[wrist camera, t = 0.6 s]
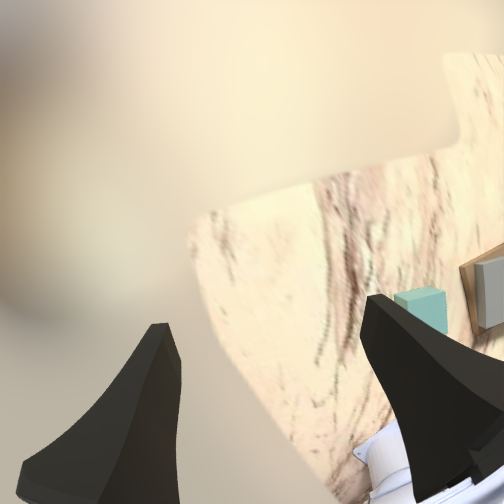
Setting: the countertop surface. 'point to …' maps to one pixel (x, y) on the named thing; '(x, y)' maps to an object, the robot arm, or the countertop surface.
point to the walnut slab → (470, 284)
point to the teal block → (426, 306)
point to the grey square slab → (490, 291)
